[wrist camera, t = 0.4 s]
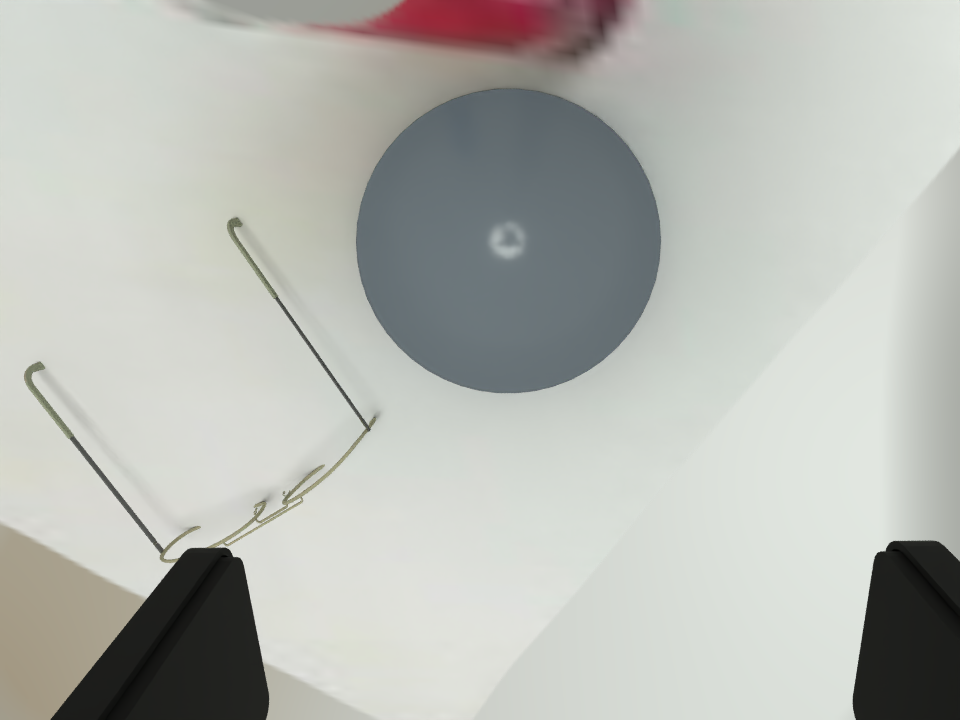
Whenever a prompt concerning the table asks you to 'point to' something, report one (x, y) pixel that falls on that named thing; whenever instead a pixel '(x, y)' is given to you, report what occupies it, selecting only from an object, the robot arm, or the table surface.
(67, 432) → the eyeglasses
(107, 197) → the table surface
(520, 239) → the dish
